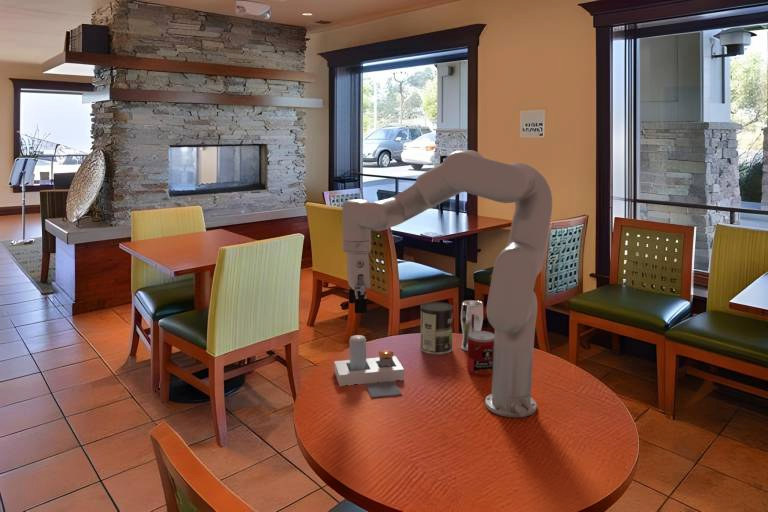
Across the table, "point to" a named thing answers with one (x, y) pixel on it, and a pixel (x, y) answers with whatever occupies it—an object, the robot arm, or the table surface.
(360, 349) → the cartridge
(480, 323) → the beer glass
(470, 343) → the canned food
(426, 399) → the table surface
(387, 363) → the plunger
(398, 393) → the mat
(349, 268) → the robot arm
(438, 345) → the coffee can
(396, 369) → the housing
